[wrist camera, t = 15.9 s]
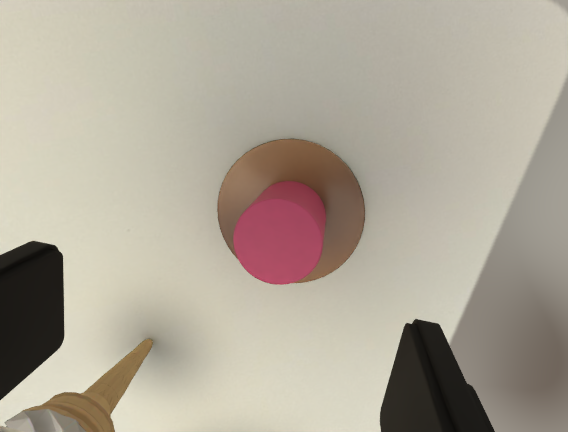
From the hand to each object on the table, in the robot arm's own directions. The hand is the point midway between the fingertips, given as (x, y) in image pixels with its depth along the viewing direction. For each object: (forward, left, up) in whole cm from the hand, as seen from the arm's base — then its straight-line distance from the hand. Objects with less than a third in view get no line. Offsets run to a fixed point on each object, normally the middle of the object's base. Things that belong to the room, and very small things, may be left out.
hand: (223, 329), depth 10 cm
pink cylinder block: (+1, 0, -14) cm, 14 cm away
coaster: (0, 0, -14) cm, 14 cm away
